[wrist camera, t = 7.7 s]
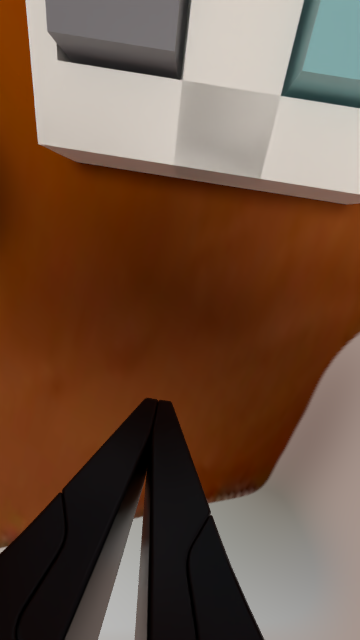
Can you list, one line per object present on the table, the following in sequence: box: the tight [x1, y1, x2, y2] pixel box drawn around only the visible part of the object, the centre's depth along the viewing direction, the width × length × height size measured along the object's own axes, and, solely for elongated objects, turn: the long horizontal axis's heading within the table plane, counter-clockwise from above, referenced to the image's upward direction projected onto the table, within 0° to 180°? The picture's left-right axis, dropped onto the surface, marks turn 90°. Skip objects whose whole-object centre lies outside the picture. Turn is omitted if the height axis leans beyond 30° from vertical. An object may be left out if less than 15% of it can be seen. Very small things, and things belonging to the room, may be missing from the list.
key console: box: [26, 0, 360, 204], centre depth 11 cm, size 18×12×4 cm, turn 82°
